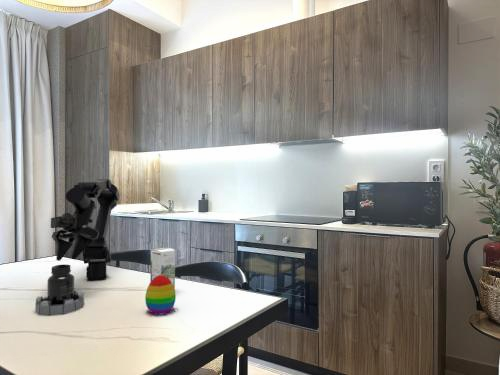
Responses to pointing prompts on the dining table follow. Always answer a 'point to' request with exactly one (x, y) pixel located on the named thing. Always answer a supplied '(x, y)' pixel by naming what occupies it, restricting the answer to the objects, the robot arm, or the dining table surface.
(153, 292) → the decorative egg
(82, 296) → the grey segmented ring
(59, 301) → the supplement bottle
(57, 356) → the dining table surface
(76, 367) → the dining table surface
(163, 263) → the syrup box
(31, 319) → the dining table surface
